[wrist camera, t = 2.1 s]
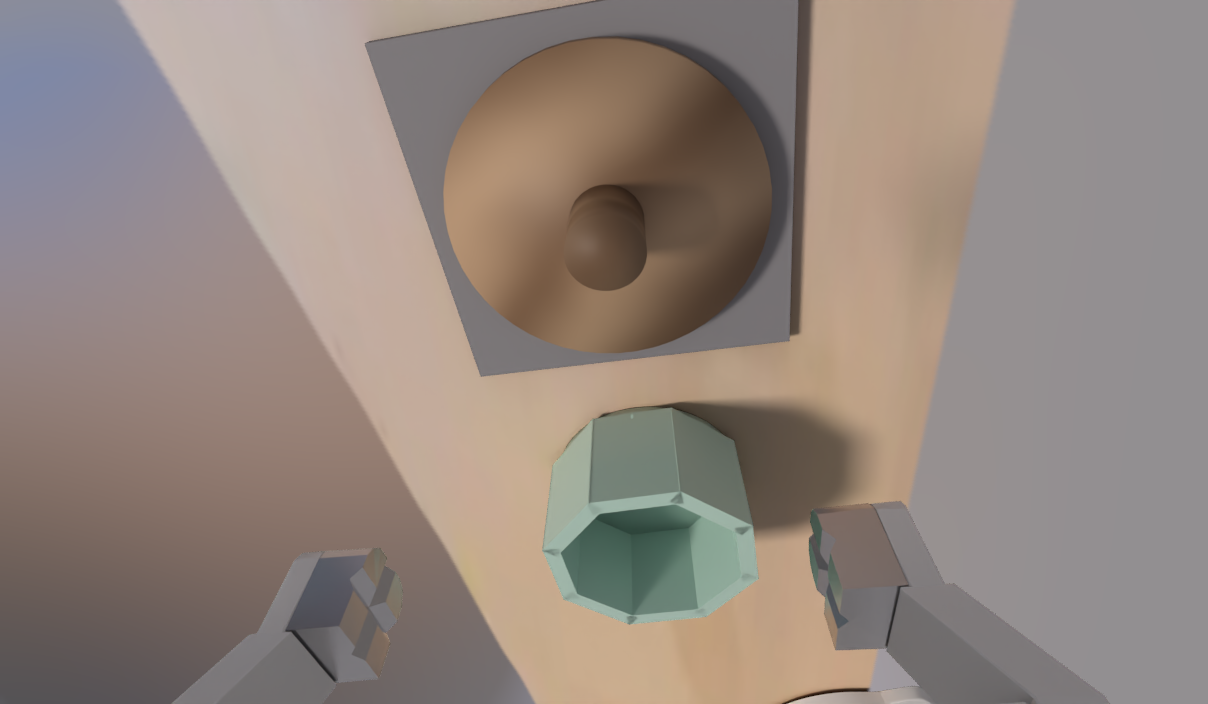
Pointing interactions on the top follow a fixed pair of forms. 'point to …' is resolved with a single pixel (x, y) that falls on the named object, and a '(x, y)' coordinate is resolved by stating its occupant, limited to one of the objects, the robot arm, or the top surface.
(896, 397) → the top surface
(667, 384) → the top surface
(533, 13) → the rubber mat
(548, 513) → the ceramic bowl
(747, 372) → the top surface
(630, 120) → the walnut lid
